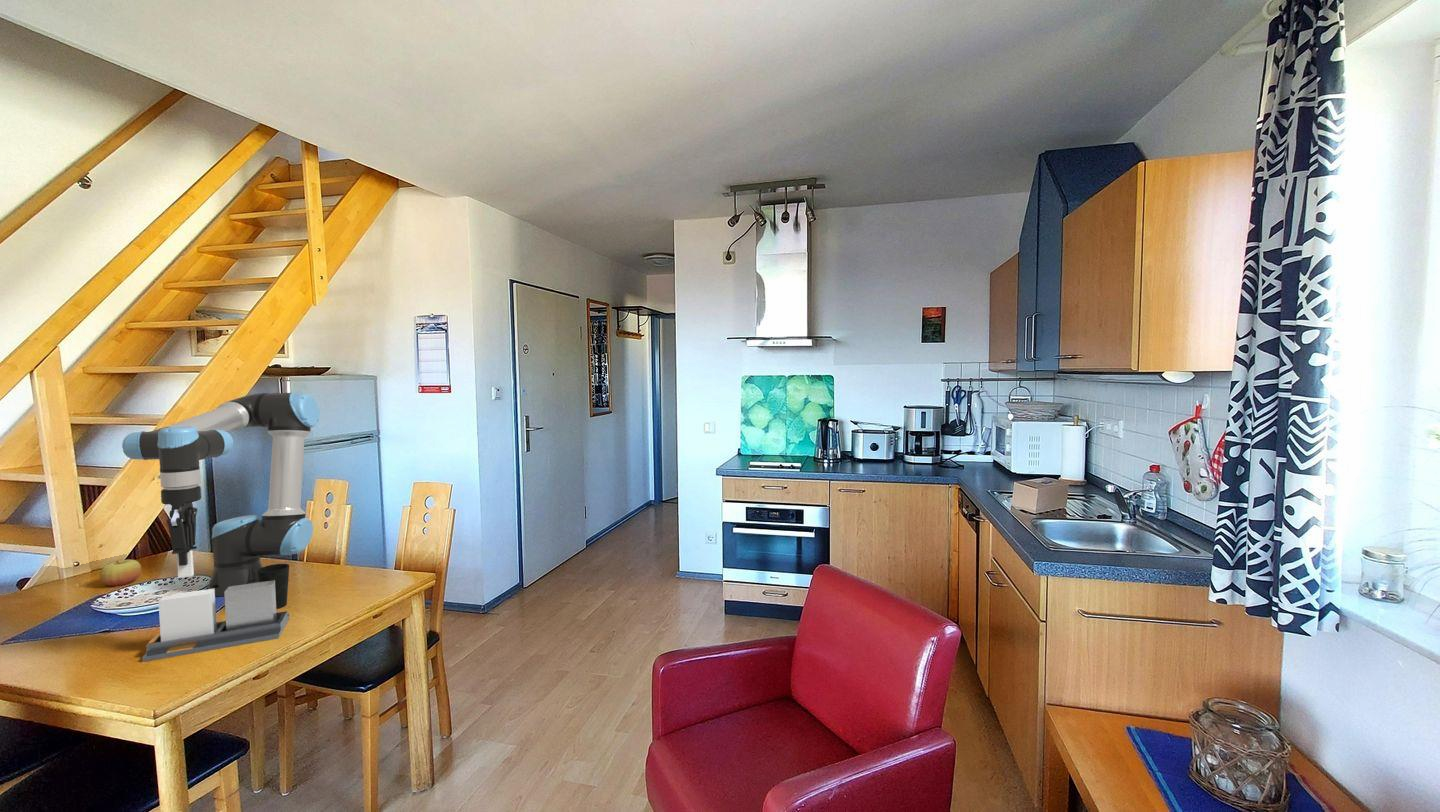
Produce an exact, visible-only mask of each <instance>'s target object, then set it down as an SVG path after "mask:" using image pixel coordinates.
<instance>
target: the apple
mask: <svg viewBox="0 0 1440 812" xmlns="http://www.w3.org/2000/svg"><path fill="white" fill-rule="evenodd" d="M141 573H142V564H141V563H140V562H139V561H137V560H135V559H122V560H116V561H113V562H110V563H108V564H105V565H104V566H103V567H102V568H101V569H100V571H99V580H100V581H101V582H102V583H103V584H105V585H106V586H108V587H117V586H118V587H119V586H123V585H124V586H125V585H128V584H130V583H133V582H134V581H135V580H137V579H138V578H139V577H140V575H142V574H141Z"/></svg>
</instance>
